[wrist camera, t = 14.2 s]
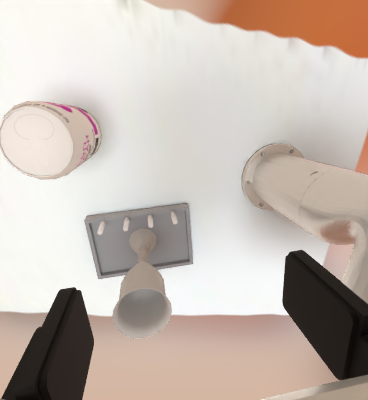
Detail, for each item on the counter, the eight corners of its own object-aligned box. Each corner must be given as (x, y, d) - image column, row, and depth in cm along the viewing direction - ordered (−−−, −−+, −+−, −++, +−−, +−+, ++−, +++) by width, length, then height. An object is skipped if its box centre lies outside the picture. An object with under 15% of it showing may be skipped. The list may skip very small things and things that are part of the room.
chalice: (130, 218, 43) (122, 283, 27) (166, 228, 45) (180, 294, 28) (119, 253, 45) (105, 334, 28) (154, 261, 47) (160, 341, 30)
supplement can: (42, 106, 37) (-20, 99, 23) (99, 107, 38) (74, 101, 24) (51, 160, 39) (0, 183, 25) (104, 159, 40) (84, 181, 26)
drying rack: (186, 203, 45) (192, 215, 40) (191, 258, 49) (197, 276, 44) (87, 216, 43) (78, 230, 37) (100, 272, 47) (94, 293, 41)
